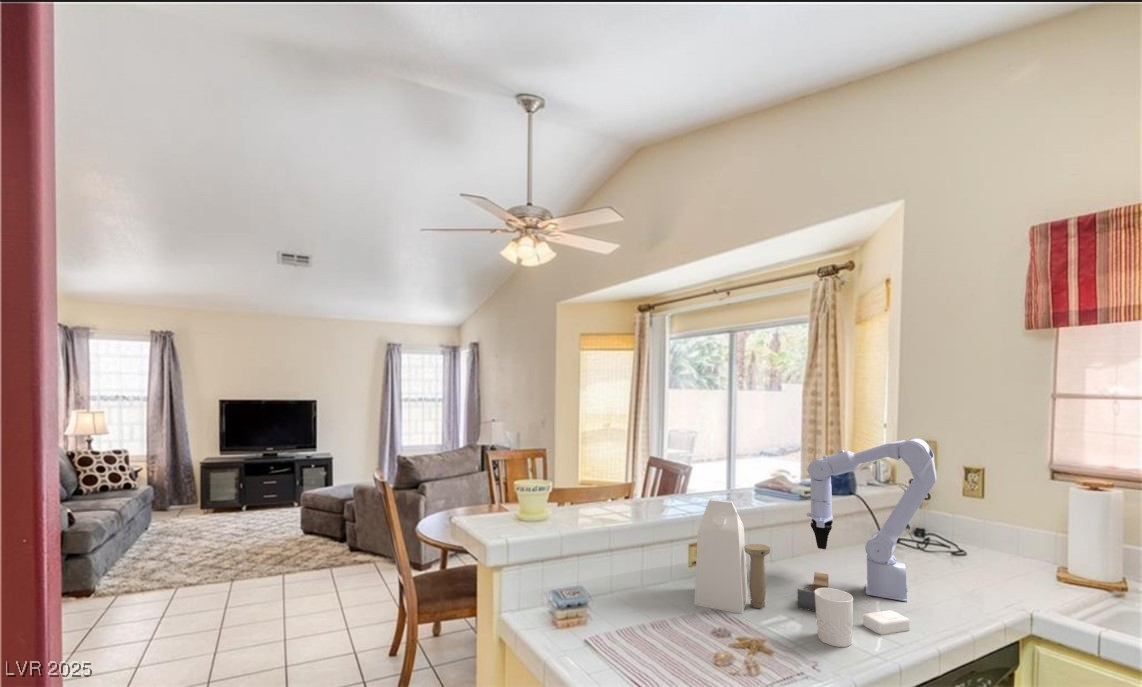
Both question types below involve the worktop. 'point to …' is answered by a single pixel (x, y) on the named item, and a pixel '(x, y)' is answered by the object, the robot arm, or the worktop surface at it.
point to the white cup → (834, 616)
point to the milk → (721, 559)
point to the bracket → (806, 599)
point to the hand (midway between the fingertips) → (822, 546)
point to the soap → (886, 622)
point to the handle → (757, 573)
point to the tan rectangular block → (820, 581)
